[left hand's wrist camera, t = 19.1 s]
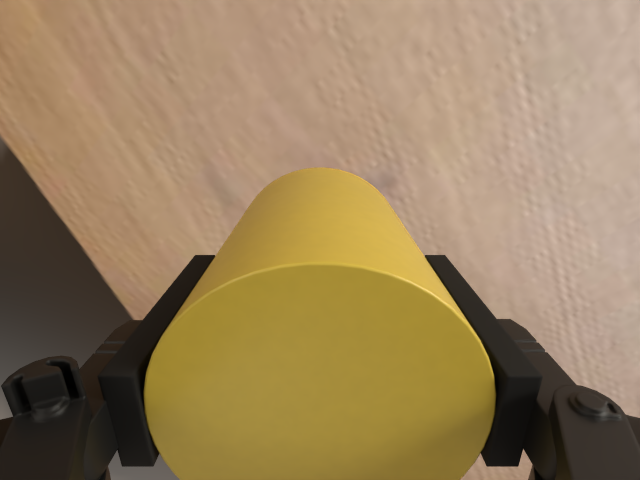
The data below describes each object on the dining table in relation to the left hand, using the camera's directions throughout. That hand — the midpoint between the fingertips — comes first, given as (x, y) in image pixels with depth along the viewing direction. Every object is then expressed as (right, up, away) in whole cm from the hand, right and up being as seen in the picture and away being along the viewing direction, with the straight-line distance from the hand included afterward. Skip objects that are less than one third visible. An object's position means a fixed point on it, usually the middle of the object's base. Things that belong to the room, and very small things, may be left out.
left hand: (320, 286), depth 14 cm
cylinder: (0, +2, +4) cm, 4 cm away
